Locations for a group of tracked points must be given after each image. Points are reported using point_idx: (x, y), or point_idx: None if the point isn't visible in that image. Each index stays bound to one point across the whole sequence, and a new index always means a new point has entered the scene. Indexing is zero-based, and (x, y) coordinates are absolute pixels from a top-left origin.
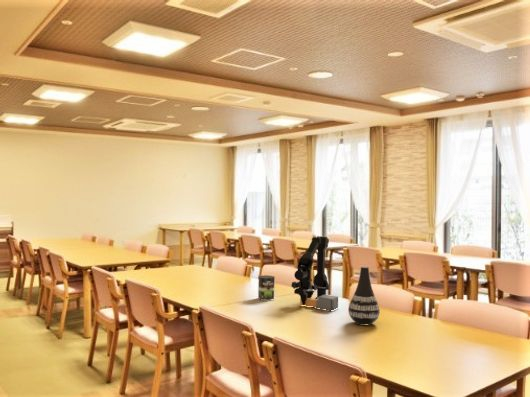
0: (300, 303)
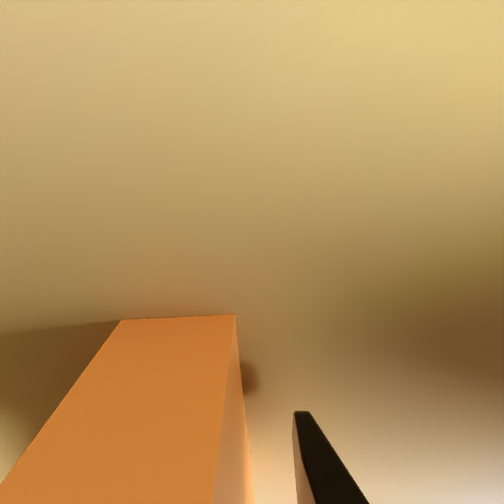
0: (95, 361)
